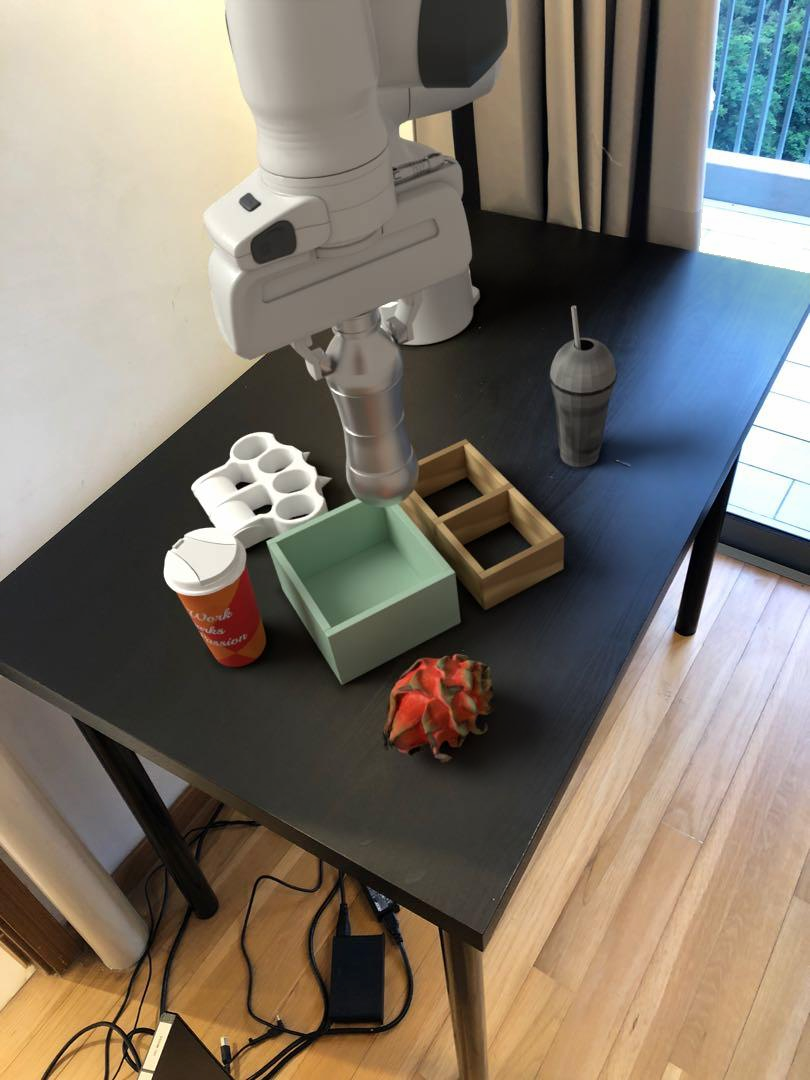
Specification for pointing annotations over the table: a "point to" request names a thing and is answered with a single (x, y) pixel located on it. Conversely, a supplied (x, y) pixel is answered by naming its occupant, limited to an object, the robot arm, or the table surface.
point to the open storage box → (365, 585)
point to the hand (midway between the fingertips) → (361, 357)
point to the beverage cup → (581, 396)
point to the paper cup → (217, 594)
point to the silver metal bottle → (372, 411)
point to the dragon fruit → (437, 704)
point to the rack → (483, 525)
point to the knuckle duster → (261, 489)
